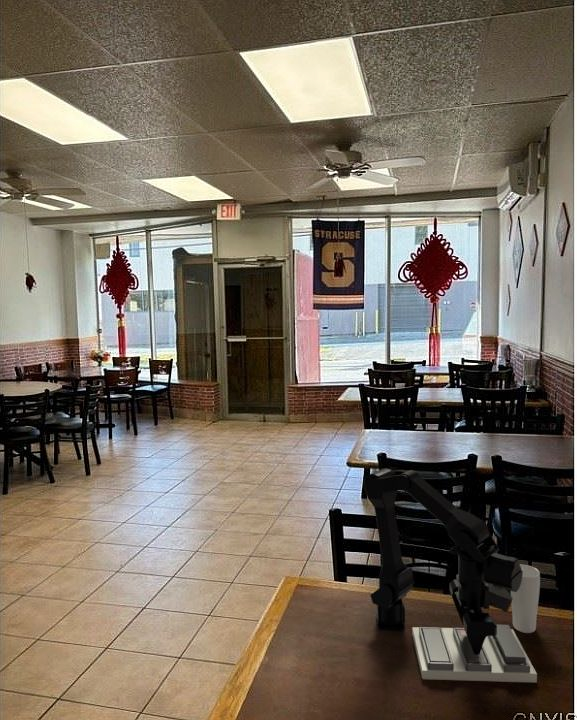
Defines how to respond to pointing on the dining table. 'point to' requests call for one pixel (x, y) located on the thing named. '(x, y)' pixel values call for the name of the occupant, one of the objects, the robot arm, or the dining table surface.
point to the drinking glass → (526, 600)
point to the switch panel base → (470, 671)
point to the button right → (509, 645)
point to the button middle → (469, 649)
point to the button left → (435, 645)
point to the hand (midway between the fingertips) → (471, 641)
